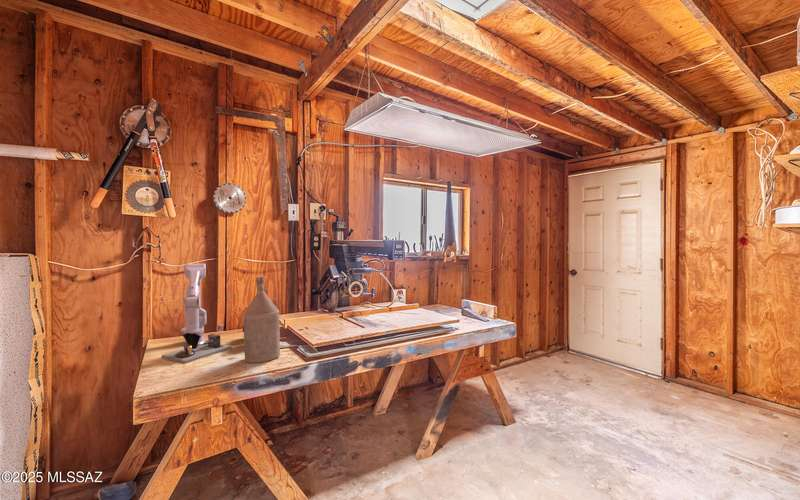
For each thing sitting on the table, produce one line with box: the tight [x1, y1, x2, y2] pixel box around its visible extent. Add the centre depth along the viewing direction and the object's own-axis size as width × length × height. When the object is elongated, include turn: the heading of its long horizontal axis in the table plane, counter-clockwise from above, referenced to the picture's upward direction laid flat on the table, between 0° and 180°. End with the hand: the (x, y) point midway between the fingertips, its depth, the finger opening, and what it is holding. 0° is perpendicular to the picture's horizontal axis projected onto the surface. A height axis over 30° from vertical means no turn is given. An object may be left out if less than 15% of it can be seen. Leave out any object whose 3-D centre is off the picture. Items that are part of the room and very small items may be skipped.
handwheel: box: [175, 346, 195, 357], centre depth 161 cm, size 8×9×5 cm
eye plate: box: [205, 333, 224, 349], centre depth 174 cm, size 9×4×6 cm, turn 65°
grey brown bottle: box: [242, 275, 282, 364], centre depth 160 cm, size 13×17×40 cm
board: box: [161, 343, 232, 364], centre depth 168 cm, size 18×24×1 cm
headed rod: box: [183, 339, 213, 351], centre depth 167 cm, size 3×14×3 cm, turn 155°
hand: (192, 348), depth 164 cm, fingers closed on headed rod, 2 cm apart
